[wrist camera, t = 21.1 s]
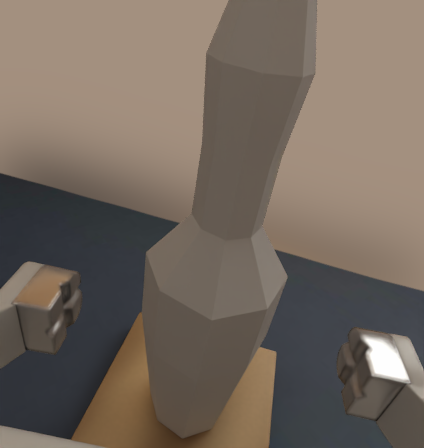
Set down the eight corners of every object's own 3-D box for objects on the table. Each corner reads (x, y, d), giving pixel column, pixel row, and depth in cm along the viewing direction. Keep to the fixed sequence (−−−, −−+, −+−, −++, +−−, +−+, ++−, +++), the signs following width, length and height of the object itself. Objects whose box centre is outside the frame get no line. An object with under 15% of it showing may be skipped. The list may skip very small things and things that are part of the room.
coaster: (60, 474, 19) (58, 462, 18) (138, 324, 28) (139, 311, 28) (255, 542, 18) (262, 532, 17) (271, 363, 27) (276, 351, 26)
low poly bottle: (176, 479, 19) (295, -15, 7) (118, 386, 22) (126, -40, 10) (257, 409, 22) (424, 17, 10) (196, 340, 26) (268, -9, 14)
